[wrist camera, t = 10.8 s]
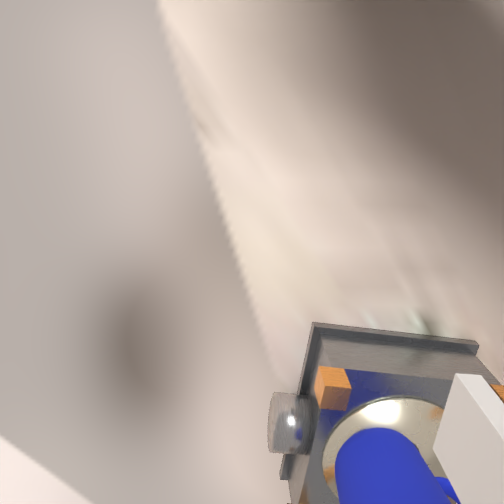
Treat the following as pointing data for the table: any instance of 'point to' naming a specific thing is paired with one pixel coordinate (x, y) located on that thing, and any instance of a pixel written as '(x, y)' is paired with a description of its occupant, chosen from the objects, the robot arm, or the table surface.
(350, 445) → the mug
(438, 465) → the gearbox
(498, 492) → the robot arm
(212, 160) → the table surface
